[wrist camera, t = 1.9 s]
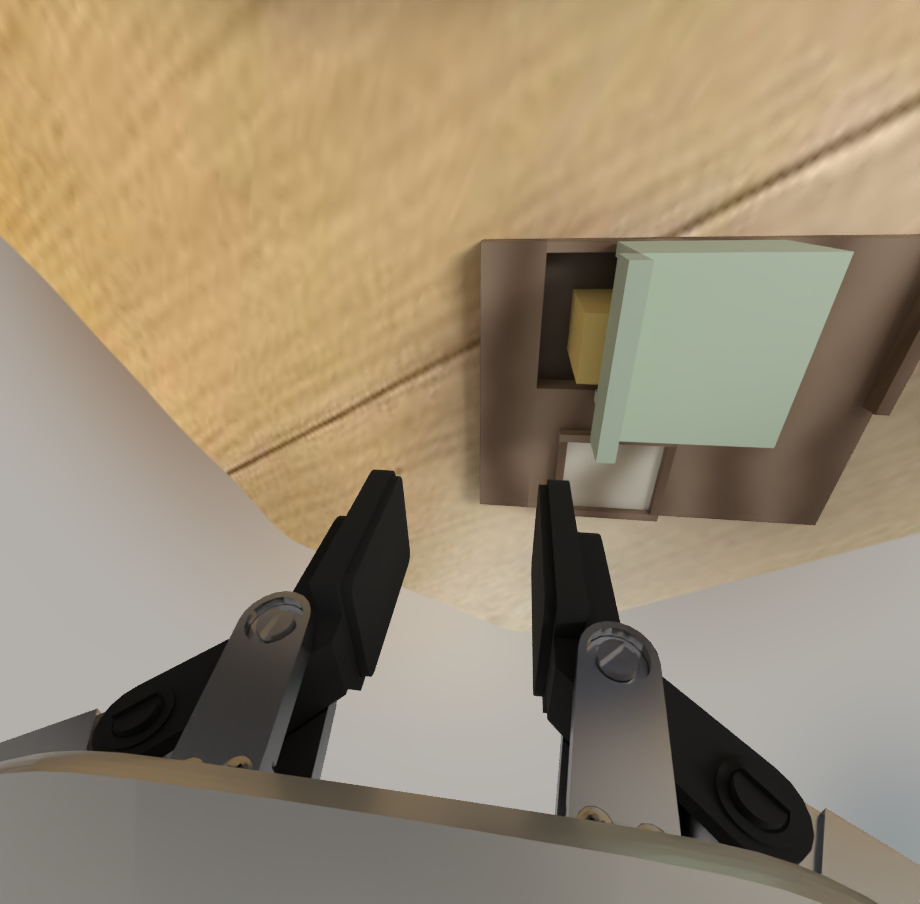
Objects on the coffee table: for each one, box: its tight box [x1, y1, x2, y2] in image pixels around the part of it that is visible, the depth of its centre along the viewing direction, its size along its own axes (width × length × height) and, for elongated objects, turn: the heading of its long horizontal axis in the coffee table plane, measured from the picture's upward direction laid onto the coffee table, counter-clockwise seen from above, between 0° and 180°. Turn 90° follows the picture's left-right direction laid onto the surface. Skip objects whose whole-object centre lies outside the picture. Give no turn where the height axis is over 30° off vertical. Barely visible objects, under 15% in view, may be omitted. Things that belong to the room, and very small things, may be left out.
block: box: [567, 289, 613, 384], centre depth 26 cm, size 4×4×7 cm
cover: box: [590, 240, 854, 464], centre depth 24 cm, size 10×10×8 cm
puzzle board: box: [480, 234, 920, 525], centre depth 30 cm, size 26×20×3 cm
